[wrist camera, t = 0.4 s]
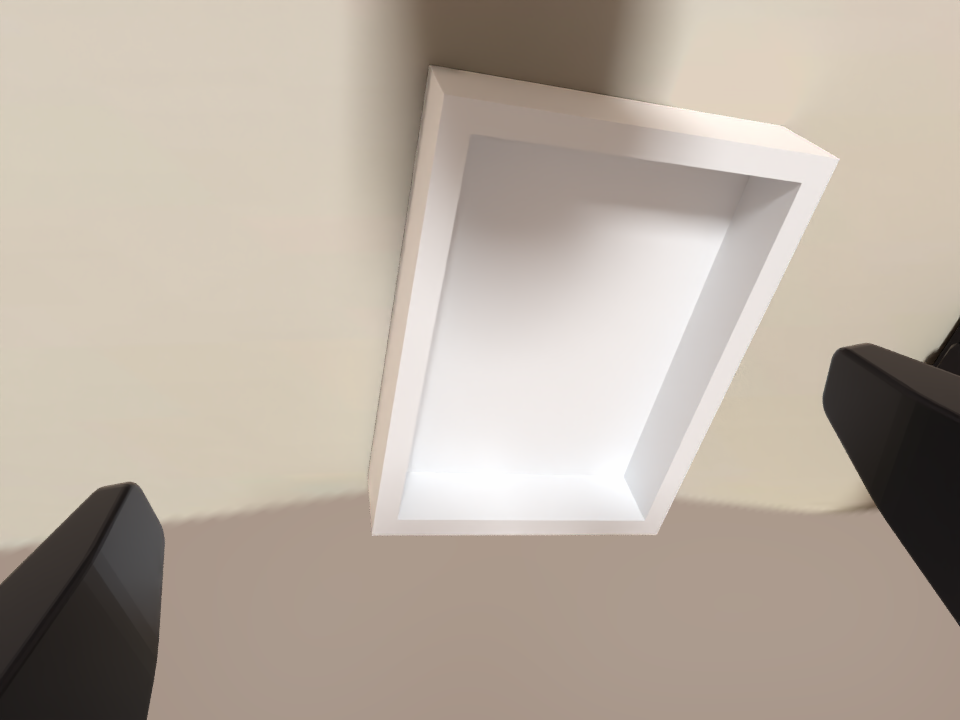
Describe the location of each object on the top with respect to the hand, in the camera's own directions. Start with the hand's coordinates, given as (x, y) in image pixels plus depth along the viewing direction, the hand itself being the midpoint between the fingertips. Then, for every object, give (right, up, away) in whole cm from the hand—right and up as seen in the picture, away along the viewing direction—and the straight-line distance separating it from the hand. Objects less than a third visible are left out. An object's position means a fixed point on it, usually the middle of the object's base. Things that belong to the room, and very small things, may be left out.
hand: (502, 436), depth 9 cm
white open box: (+2, +2, +15) cm, 16 cm away
